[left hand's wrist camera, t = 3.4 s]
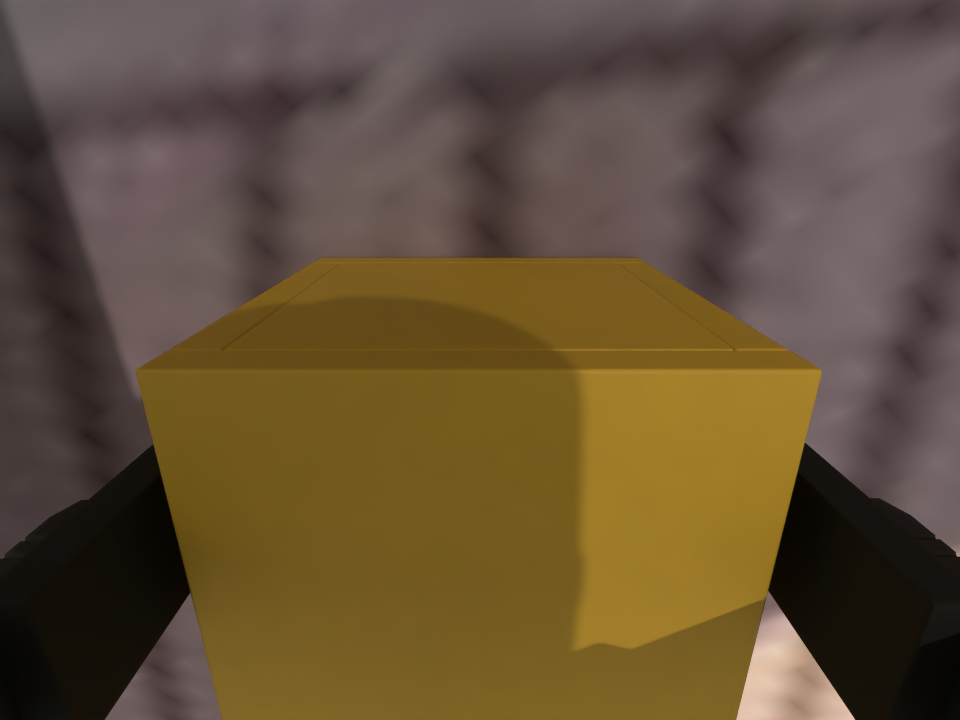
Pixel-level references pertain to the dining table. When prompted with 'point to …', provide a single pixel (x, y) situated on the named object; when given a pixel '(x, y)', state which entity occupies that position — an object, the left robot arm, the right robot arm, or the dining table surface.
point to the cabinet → (479, 491)
